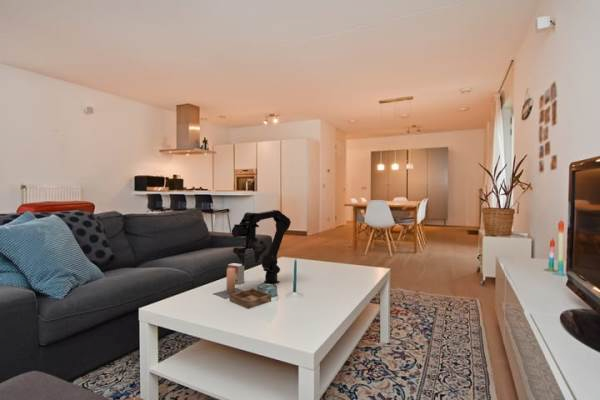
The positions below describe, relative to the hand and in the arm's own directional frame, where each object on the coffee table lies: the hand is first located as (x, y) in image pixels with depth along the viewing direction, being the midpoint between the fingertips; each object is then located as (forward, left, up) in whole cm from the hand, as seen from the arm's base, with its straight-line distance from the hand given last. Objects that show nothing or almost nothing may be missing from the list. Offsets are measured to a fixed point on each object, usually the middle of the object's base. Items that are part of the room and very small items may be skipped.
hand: (249, 264), depth 173 cm
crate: (+13, +17, -13) cm, 25 cm away
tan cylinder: (+13, +1, -12) cm, 18 cm away
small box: (-1, -14, -13) cm, 19 cm away
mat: (+13, +1, -13) cm, 18 cm away
